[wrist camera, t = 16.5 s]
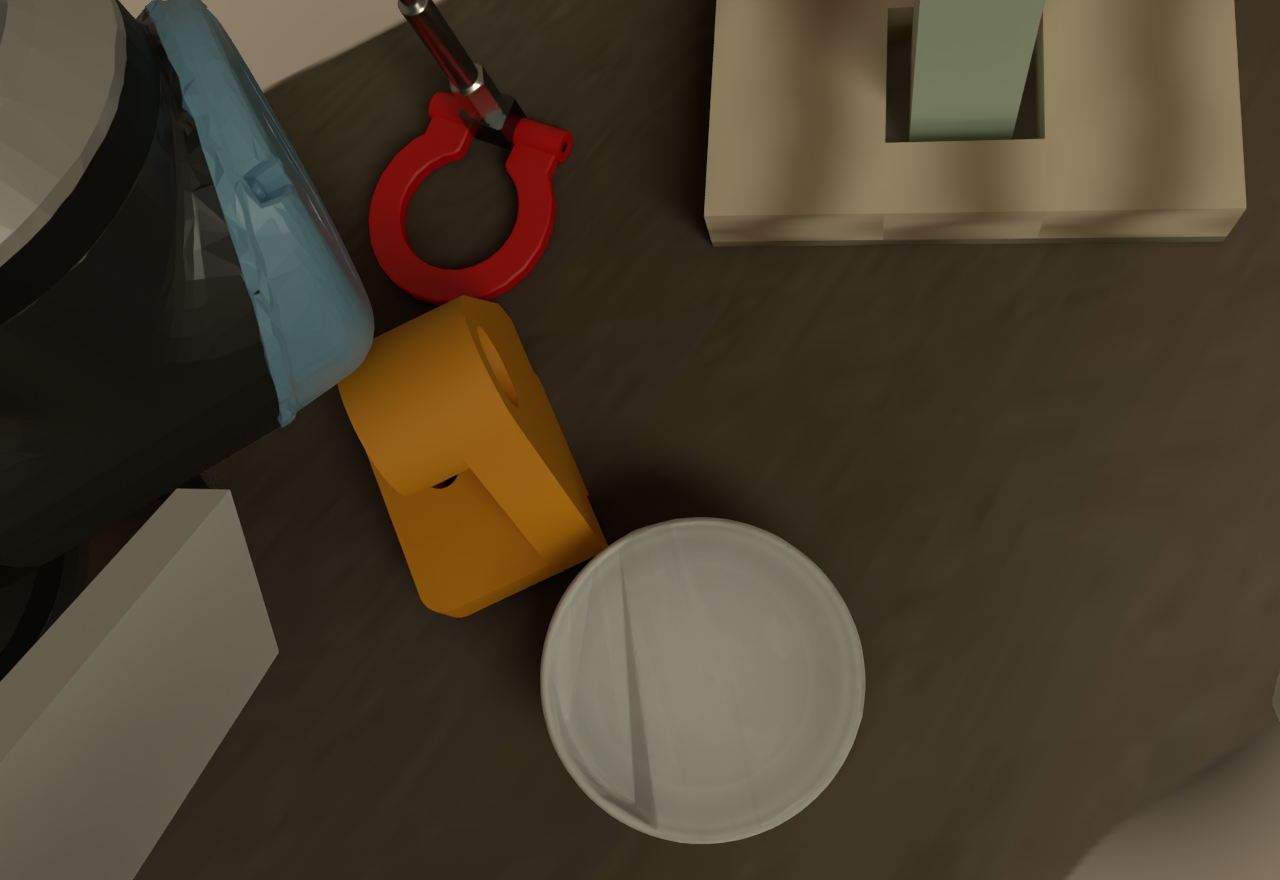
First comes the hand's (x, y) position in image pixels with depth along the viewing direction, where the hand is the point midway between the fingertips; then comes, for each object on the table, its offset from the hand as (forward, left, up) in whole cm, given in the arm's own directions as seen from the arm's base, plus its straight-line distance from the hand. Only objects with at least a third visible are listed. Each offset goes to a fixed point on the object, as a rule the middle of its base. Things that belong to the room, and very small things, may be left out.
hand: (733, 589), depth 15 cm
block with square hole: (+5, +24, -32) cm, 40 cm away
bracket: (-14, +8, -32) cm, 36 cm away
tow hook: (-16, +20, -32) cm, 41 cm away
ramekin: (-4, 0, -32) cm, 32 cm away
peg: (+5, +24, -31) cm, 40 cm away
